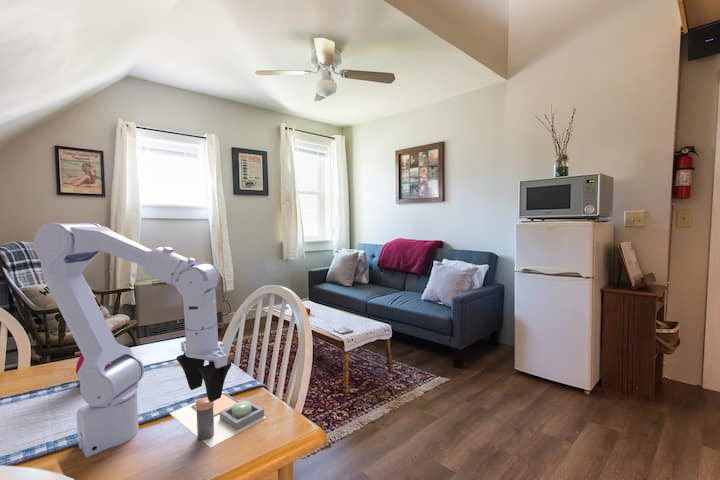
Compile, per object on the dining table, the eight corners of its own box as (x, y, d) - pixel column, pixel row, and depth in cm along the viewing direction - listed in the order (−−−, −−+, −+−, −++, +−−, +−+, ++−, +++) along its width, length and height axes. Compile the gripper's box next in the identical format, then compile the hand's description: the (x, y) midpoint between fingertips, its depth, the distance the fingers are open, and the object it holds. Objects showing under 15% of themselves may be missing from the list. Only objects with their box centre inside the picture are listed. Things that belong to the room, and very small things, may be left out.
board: (208, 456, 62) (208, 443, 62) (164, 417, 75) (163, 406, 75) (271, 421, 73) (271, 410, 73) (223, 392, 86) (223, 383, 86)
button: (238, 420, 70) (238, 413, 70) (228, 414, 73) (228, 406, 73) (255, 412, 74) (255, 405, 73) (245, 406, 76) (244, 399, 76)
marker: (201, 442, 65) (200, 407, 64) (193, 436, 67) (192, 402, 66) (217, 434, 67) (216, 400, 67) (209, 428, 69) (208, 395, 69)
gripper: (240, 326, 65) (243, 395, 65) (203, 315, 74) (206, 375, 74) (204, 337, 59) (208, 412, 60) (168, 323, 68) (172, 388, 69)
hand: (205, 393), depth 67 cm, fingers open, 7 cm apart
